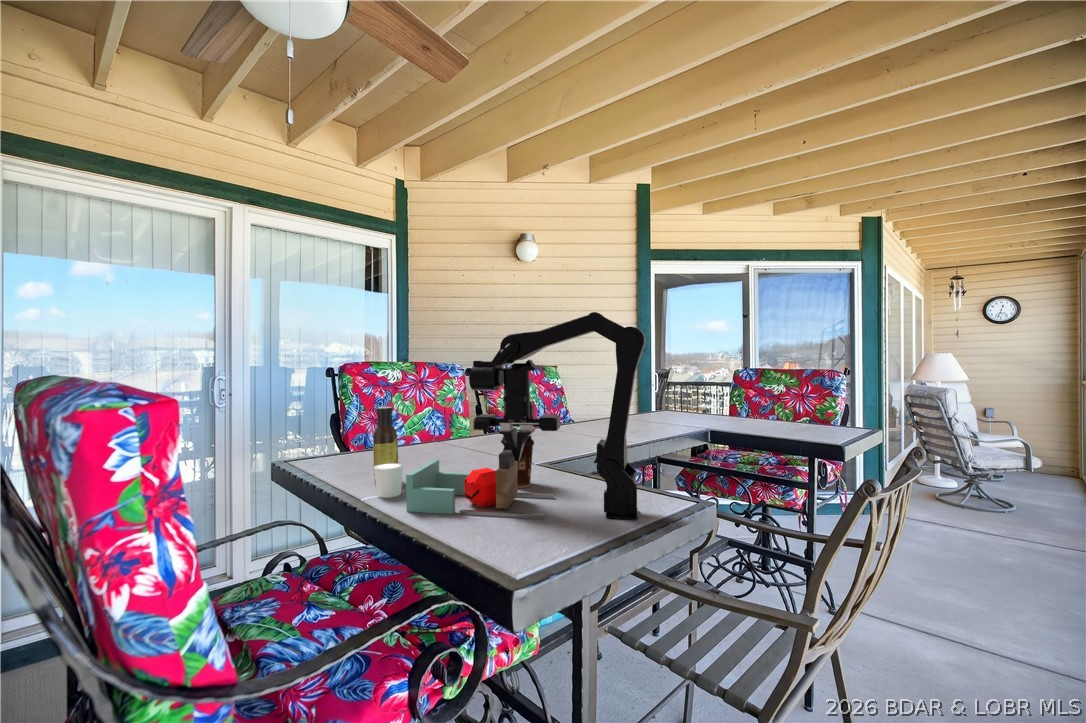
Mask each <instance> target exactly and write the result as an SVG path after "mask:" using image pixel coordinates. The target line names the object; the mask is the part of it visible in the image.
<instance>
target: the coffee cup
mask: <svg viewBox="0 0 1086 723" xmlns="http://www.w3.org/2000/svg"><path fill="white" fill-rule="evenodd" d="M500 443H501V444H502V445H503V449H502V452H503V451H504V450H511V449H510V446H509V444H508V443H507V441H506V439H505V437H504V436H502V439H501V440H500ZM534 445H535V442H534V440H533V439H532V434H529V435H528V437H527V440H526V442H525V445H524V448H523V451H522V454H521V457H520V460H519V461H517V475H518V489H521V488H522V489H524V488H527V487H529V486H531V477H532V476H531V475H532V465H533V463H532V462H533V453H534V452H533V451H534V450H533V449H534Z"/></svg>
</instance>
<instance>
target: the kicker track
mask: <svg viewBox="0 0 1086 723" xmlns="http://www.w3.org/2000/svg"><path fill="white" fill-rule="evenodd" d="M516 498H526V499H527V498H529V499H545V500H547V499H550V500H553V499H555V494H554V493H536V492H535V493H532V492H518V495H517V496H516ZM458 512H459V515H461V516H462V515H465V516H480V517H496V518H497V517H499V518H515V519H517V518H519V519H531V520H532V519H535V520H537V519H538V520H543V519H544V517H545V516H544V515H545V514H544V513H539V512H538V513H537V512H536V513H535V512H518V511H517V512H516V511H504V510H503V511H502V510H501V511H497V510H485V509H484V510H482V509H481V510H480V509H466V508H465V509H459V510H458Z"/></svg>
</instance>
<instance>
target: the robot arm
mask: <svg viewBox="0 0 1086 723" xmlns="http://www.w3.org/2000/svg"><path fill="white" fill-rule="evenodd" d="M592 333H596V334H598V335H600V336H601V337H604V338H605V339H607V340H608V341H611V342H613V343H615V358H616V370H617V371H616V376H615V383H614V390H613V397H612V403H611V408H610V415H609V422H608V428H607V435H606V436H605V437H606V438H605V439H603V438H601V439H600V440H599V441H598V443H596V456H595V459H594V461H593V463H594V464H596V472H597V473H598V475H599V476H600V477H601V478H602V479H603V480H604V481H605V482H604V483H605V484H606V489H605V490H604V491H603V512H604V513H605V518H606V519H619V520H620V519H621V520H638V519H639V516H638V515H639V514H638V511H639V510H638V483H635V481H636V479H637V476H638V471H637V470H636V468H634V467H633V466H632V465H631V464H630V463H629V461H628V444H627V431H628V424H629V417H630V411H631V406H632V405H631V404H632V400H633V399H632V397H633V393H634V392H633V391H634V386H635V385H634V384H635V380H636V379H635V378H636V373H637V372H636V371H637V369H638V367H639V365H640V362H641V359H642V357H643V353H644V350H645V347H646V344H647V338H646V335H645V333H644V332H643V330H641V329H640V328H637V327H635V326H626V327H624V326H623V325H620V324H619V323H617V322H615V321H613V320H611V319H609V318H607V317H605V316H604V315H603V314H601V313H600V312H596V311H593V312H590V313H588V314H586V315H584V316H580V317H577V318H574V319H571V320H568V321H565V322H562V323H559V324H555V325H552V326H549V327H546V328H544V329H541V330H537V331H527V332H519V333H510V334H507V335H505V336H504V337H503V338H502V340H501V342H500V346H499V350H498V351H497V353H496V354H495V356H494V357H493V359H492V360H491V361H486V360H485V361H484V360H473V361H472V363H473V364H472V367H471V370H470V373H469V376H468V380H469V381H468V383H469V387H470V389H471V390H472V391H480V392H481V391H482V392H483V391H485V392H486V391H489V392H490V391H491V392H494V391H495V392H498V391H500V390H499V389H500V388H501V387H503V396H502V402H503V413H504V414H503V416H502V417H498V416H497V414H493V413H490V414H488V413H481V414H480V415H476V416H475V417H474V418H473V421H472V424H473V425H472V426H473V430H475V431H477V430H479V431H483V430H484V431H487V430H488V429H489V428H490V427H499V430H498V434H499V435H503V436H504V437H505V439H506V441H507V443H508V444H509V446H510V449H511V451H512V454H513V456H514V458H515V461H519V460H520V457H521V454H522V451H523V448H524V445H525V442H526V440H527V437H528V435H532V434H533V433H534V432H535V431H536V428H539V429H540V430H541V431H542V432H557V431H558V430H559V429H560V428H561V417H560V416H559V415H558V414H542V415H541V416H539V418H536V417H535V416H534V414H535V405H534V404H533V403H532V401H531V394H530V390H531V389H530V388H531V387H530V372H531V371H532V372H534V371H538V370H539V366H538V365H536V364H535V363H534V362H533V360H532V359H528V358H530V357H533V356H534V355H536V354H537V353H539V352H540V351H542V350H544V349H545V348H546V349H547V348H548V347H550V346H554V345H556V344H560V343H563V342H567V341H569V340H572V339H576V338H579V337H582V336H585V335H588V334H592ZM526 359H527V360H526ZM523 360H526V362H518V363H517V361H523ZM515 362H516V363H515ZM506 365H511V366H510V367H503V366H506ZM518 427H519V430H518ZM503 436H502V437H503Z"/></svg>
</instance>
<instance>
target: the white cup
mask: <svg viewBox="0 0 1086 723" xmlns="http://www.w3.org/2000/svg"><path fill="white" fill-rule="evenodd" d="M374 472H375V476H374V479H375V480H374V483H375V482H376V483H375V489H376V496H377V497H378V498H383V499H386V498H387V499H388V498H395V497H399V496H400V495H401V494H402V486H403V476H404V475H403V472H404V464H402V463H399V462H398V463H385V464H380V465H376V466H374V465H373V473H374Z"/></svg>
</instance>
